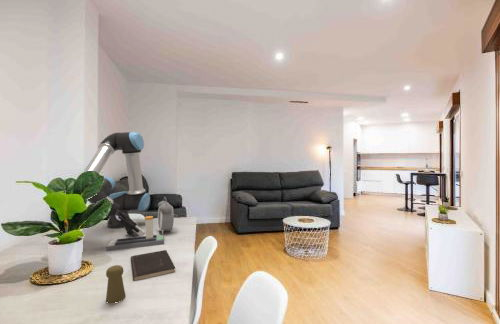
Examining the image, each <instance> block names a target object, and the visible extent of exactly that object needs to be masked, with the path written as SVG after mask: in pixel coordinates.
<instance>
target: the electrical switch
mask: <svg viewBox="0 0 500 324" xmlns="http://www.w3.org/2000/svg"><path fill="white" fill-rule="evenodd" d="M133 221H134V222H135V223H137V226H138V227H139V223H138V222H137V221H135V220H133ZM139 228H140V227H139ZM124 229H125V232H126V235H128V236H130V237H139V235H138V234H137V233H136V232H134V231H133V230H131V231H130V229H128V228H127V227H124Z"/></svg>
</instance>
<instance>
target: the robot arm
mask: <svg viewBox="0 0 500 324" xmlns="http://www.w3.org/2000/svg"><path fill="white" fill-rule="evenodd" d="M144 146H145V141H144V138H143V136H142V135H141V134H140V132H136V131H129V132H128V131H127V132H124V131H123V132H113V133H111V134H109V135H108V136H106V137H105V138H104V139H102V140H101V142H100V143H99V145H98V149H97V150H96V153H95V154H94V155H93V157H92V159H91V160H90V161H89V163H88V164H87V166H85V168H84V170H83V172H82V173H84V172H86V171H96V172H98V173H99V174H100V173H101V171H102V170H103V167H105V165H106V163H107V161H108V160H109V159H110V157H111V155H113V154H114V153H115V152H116V151H121V153H122V154H123V156H124V157H125V164H126V165H125V166H126V171H127V173H126V174H127V181H128V187H129V190H128V191H119V192H114V193H111V194H109V195H107V194H108V193H109V192H110V191H112V190H113V189H114V188H115V186H116V181H115V180H114V178H112V177H111V176H106V177H103V178H104V183H103V186H102V189H101V191H100V192H99V193H98V194H97V195H95V196H93V197H92V198H90V199H88V200H87V201H88V202H89V203H90V204H91V205H93V203H96V202H97V201H99V200H101V199H103V198H107V199H108V200H109V201H111V203H112V208H111V211H110V213H109V214H108V216H107V217H108V219H107V223H106V227H107V228H109V229H118V228H125V227H127V228H128V230H129V229H130V231H131V230H133V231H134V232H136V233H137V234H138V237H142V236H145V235H146V231H144V230H143V229H142V228H140V227H138V226H139V225H138V226H137V223H138V222H137V223H135V222H134V221H135V220H133V219H132V218H131V217H130V214H129V211H145V210H147V208H148V207H149V205H150V202H151V196H150V194H149V193H147V192H146V191H147V190H146V189H145V188H144V186H143V185H144V184H143V178H142V177H143V176H142V168H141V158H140V154H141V153H142V150H143V149H144Z"/></svg>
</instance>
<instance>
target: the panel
mask: <svg viewBox="0 0 500 324" xmlns="http://www.w3.org/2000/svg"><path fill="white" fill-rule="evenodd" d="M156 245H157V246H159V245H165V235H164V234H161V235H157V234H153V238H152V239H146V235H143V236H142V237H141V236H136V237H133V236H131V237H126V238H125V237H124V238H117V239H116V240H110V241H109V242H108V243H107V245H106V247H105V251H106V252H109V251H116V250H126V249H134V248H135V249H136V248H143V247H150V246H151V247H153V246H156Z"/></svg>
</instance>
